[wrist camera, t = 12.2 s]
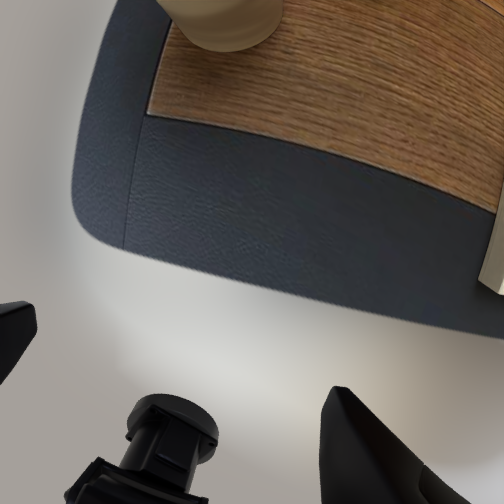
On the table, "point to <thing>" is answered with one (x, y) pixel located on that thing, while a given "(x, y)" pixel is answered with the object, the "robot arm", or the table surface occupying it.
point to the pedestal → (225, 21)
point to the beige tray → (495, 254)
